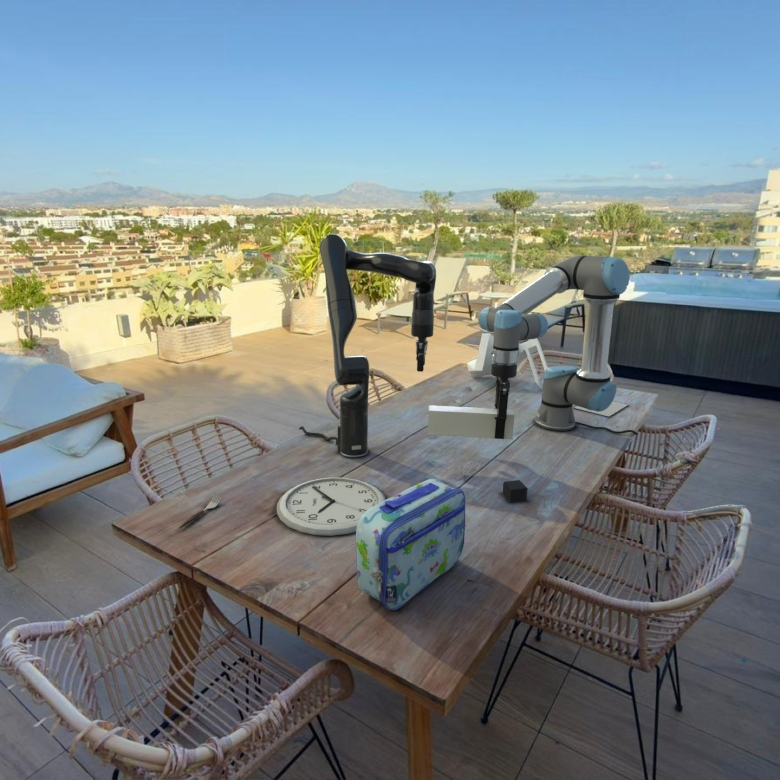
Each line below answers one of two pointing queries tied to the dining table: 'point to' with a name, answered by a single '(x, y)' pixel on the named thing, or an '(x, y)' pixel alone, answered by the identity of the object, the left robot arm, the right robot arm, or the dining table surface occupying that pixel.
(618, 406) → the invitation card
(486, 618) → the dining table surface
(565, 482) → the dining table surface
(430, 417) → the bar
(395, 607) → the lunch box
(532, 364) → the white plastic object
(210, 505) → the fork
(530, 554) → the dining table surface
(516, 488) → the rubber block
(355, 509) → the wall clock
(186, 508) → the dining table surface
